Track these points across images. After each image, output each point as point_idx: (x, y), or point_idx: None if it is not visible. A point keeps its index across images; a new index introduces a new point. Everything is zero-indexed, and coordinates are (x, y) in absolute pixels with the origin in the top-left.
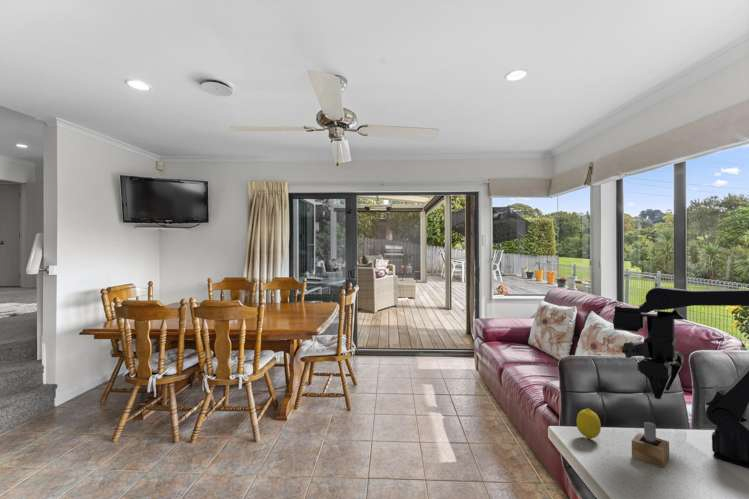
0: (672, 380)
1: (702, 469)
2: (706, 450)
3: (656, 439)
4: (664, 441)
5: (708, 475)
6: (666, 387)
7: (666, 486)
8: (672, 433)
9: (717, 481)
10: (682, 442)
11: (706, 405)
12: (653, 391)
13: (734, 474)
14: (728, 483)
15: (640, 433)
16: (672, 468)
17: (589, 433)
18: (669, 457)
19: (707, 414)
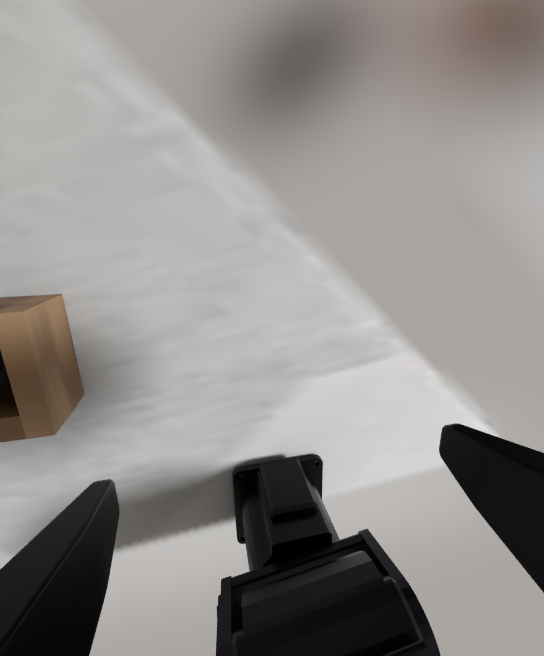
0: (531, 568)
1: (103, 475)
2: (275, 438)
3: (17, 396)
4: (34, 423)
5: (73, 496)
6: (457, 456)
7: None
8: (340, 332)
9: None
10: (281, 377)
11: (310, 646)
12: (33, 548)
13: (159, 525)
14: None
15: (14, 322)
16: None
17: None
18: (82, 396)
19: (244, 625)
